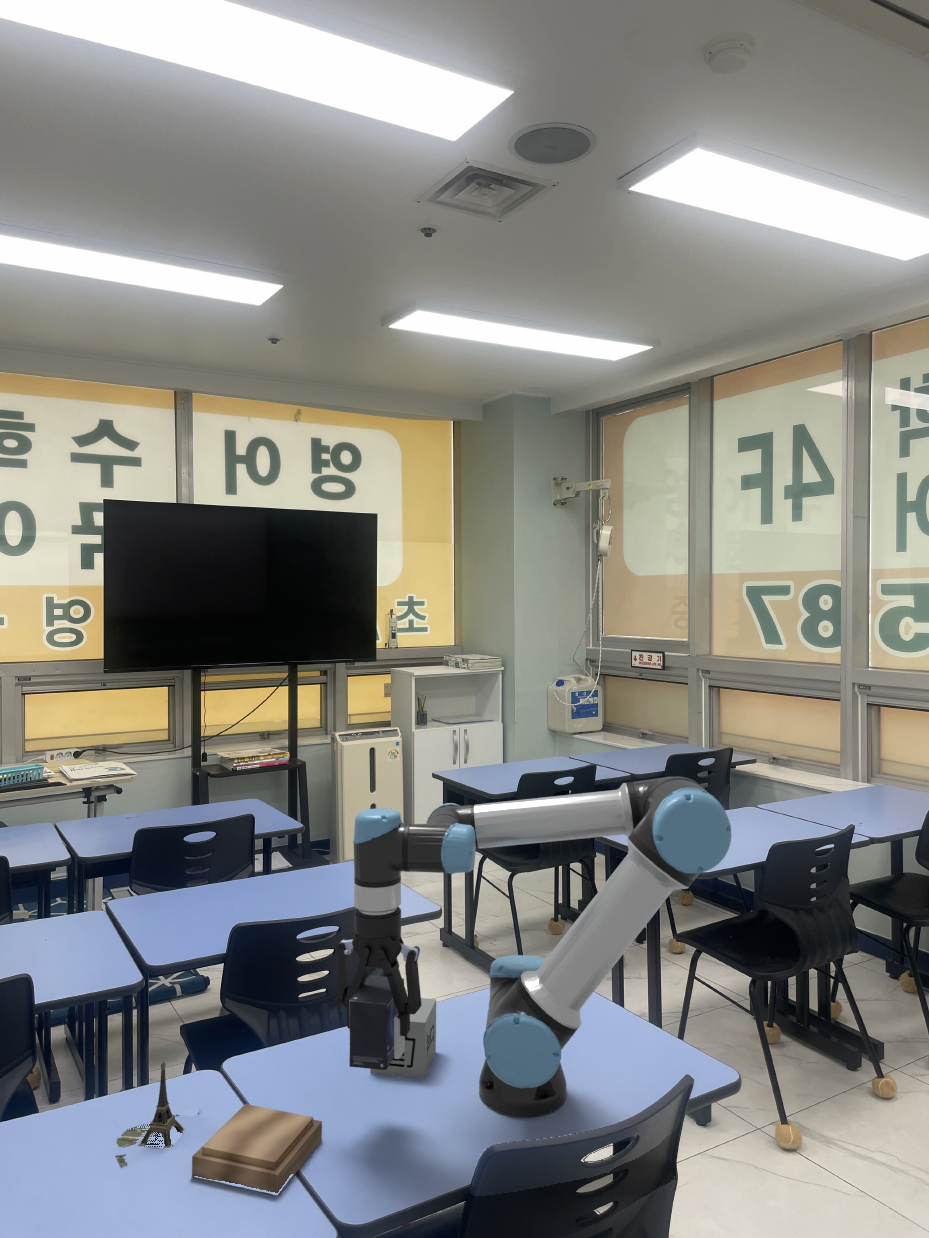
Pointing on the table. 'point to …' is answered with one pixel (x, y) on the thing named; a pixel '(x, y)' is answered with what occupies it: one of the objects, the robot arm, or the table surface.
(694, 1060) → the table surface
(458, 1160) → the table surface
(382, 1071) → the icon cube
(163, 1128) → the eiffel tower figurine
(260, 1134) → the plinth
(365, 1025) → the small box
